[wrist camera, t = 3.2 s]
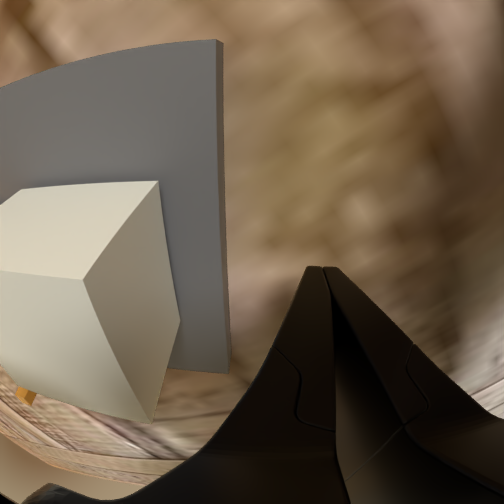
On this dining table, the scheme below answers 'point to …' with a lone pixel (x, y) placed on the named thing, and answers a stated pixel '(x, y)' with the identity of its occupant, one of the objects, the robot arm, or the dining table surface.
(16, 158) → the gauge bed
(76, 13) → the dining table surface
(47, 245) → the block
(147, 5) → the dining table surface
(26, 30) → the dining table surface
